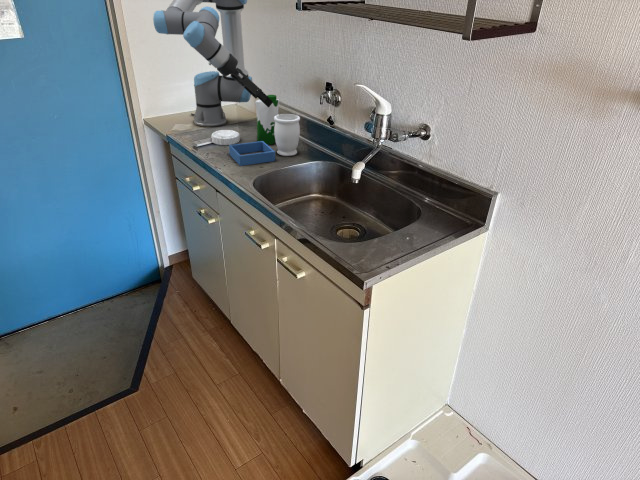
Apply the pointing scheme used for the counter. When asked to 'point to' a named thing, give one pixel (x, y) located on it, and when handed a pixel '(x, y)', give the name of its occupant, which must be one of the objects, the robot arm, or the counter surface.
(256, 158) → the blue crate
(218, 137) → the mooncake
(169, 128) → the counter surface
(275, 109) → the milk carton
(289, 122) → the jar
